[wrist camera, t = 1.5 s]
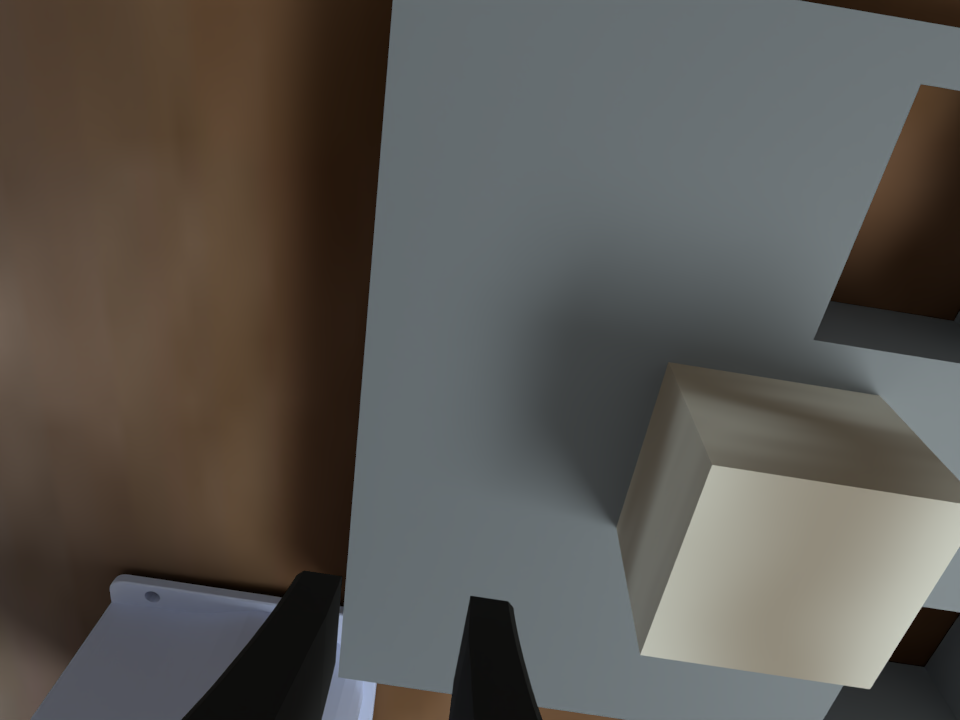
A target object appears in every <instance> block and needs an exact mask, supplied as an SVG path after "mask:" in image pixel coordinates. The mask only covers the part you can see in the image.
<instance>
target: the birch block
mask: <svg viewBox="0 0 960 720" xmlns="http://www.w3.org/2000/svg"><path fill="white" fill-rule="evenodd" d="M616 529H617V534H618V540H619V545H620V550H621V556H622V561H623V566H624V572H625V577H626V582H627V588H628V593H629V598H630V604H631V609H632V615H633V620H634V625H635V631H636V636H637V641H638V647H639V652H640V655H643V656H650V657H656V658H663V659H670V660H677V661H683V662H690V663H697V664H703V665H710V666H717V667H724V668H730V669H737V670H744V671H750V672H757V673H764V674H771V675H777V676H784V677H791V678H797V679H804V680H811V681H818V682H824V683H831V684H838V685H844V686H851V687H858V688H865V689H871V687H872V685H873V684H874V682H875V681H876V679H877V677H878V676H879V674H880V673H881V671H882V670H883V668H884V666H885V665H886V663H887V662H888V660H889V658H890V657H891V655H892V654H893V652H894V650H895V649H896V647H897V646H898V644H899V642H900V641H901V639H902V638H903V636H904V634H905V633H906V631H907V630H908V628H909V627H910V625H911V623H912V622H913V620H914V619H915V617H916V615H917V614H918V612H919V611H920V609H921V607H922V606H923V604H924V603H925V601H926V599H927V598H928V596H929V595H930V593H931V592H932V590H933V588H934V587H935V585H936V584H937V582H938V580H939V579H940V577H941V576H942V574H943V572H944V571H945V569H946V568H947V566H948V564H949V563H950V561H951V560H952V558H953V557H954V555H955V553H956V552H957V550H958V549H959V547H960V481H959V480H958V479H957V478H956V476H955V475H954V474H953V473H952V472H951V471H950V470H949V469H948V468H947V467H946V466H945V465H944V464H943V463H942V462H941V460H940V459H939V458H938V457H937V456H936V455H935V454H934V453H933V452H932V451H931V450H930V449H929V448H928V447H927V446H926V444H925V443H924V442H923V441H922V440H921V439H920V438H919V437H918V436H917V435H916V434H915V433H914V432H913V431H912V430H911V428H910V427H909V426H908V425H907V424H906V423H905V422H904V421H903V420H902V419H901V418H900V417H899V416H898V415H897V414H896V412H895V411H894V410H893V409H892V408H891V407H890V406H889V405H888V404H887V403H886V402H885V401H884V400H883V399H882V398H881V396H879V395H872V394H866V393H860V392H853V391H847V390H841V389H835V388H828V387H822V386H816V385H809V384H803V383H797V382H791V381H784V380H778V379H772V378H765V377H759V376H753V375H747V374H740V373H734V372H728V371H721V370H715V369H709V368H702V367H696V366H690V365H684V364H677V363H671V362H668V365H667V368H666V371H665V375H664V378H663V381H662V384H661V387H660V391H659V394H658V397H657V400H656V403H655V406H654V410H653V413H652V416H651V419H650V422H649V425H648V429H647V432H646V435H645V438H644V441H643V444H642V448H641V451H640V454H639V457H638V460H637V463H636V467H635V470H634V473H633V476H632V479H631V483H630V486H629V489H628V492H627V495H626V498H625V502H624V505H623V508H622V511H621V514H620V517H619V521H618V524H617V527H616Z"/></svg>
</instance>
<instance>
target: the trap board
mask: <svg viewBox="0 0 960 720" xmlns="http://www.w3.org/2000/svg"><path fill="white" fill-rule="evenodd" d="M921 84H923V85H929V86H935V87H941V88H947V89H953V90H959V91H960V28H958V27H952V26H946V25H940V24H934V23H928V22H923V21H917V20H911V19H905V18H899V17H894V16H888V15H882V14H876V13H870V12H865V11H859V10H853V9H847V8H841V7H835V6H830V5H824V4H818V3H812V2H806V1H801V0H393V4H392V16H391V29H390V41H389V54H388V66H387V78H386V91H385V103H384V115H383V128H382V140H381V153H380V165H379V177H378V190H377V202H376V214H375V227H374V239H373V252H372V264H371V276H370V289H369V301H368V313H367V326H366V338H365V351H364V363H363V375H362V388H361V400H360V412H359V425H358V437H357V450H356V462H355V474H354V487H353V499H352V511H351V524H350V536H349V549H348V561H347V573H346V586H345V598H344V610H343V623H342V635H341V648H340V660H339V672H338V677H339V678H346V679H352V680H359V681H366V682H373V683H380V684H387V685H393V686H400V687H407V688H414V689H421V690H427V691H434V692H441V693H448V694H452V690H453V681H454V676H455V671H456V666H457V661H458V656H459V651H460V646H461V641H462V636H463V631H464V626H465V621H466V616H467V611H468V606H469V600H470V596H476V597H483V598H490V599H496V600H503V601H508V602H509V603H510V604H511V605H512V606H513V608H514V615H515V621H516V626H517V631H518V636H519V641H520V645H521V649H522V653H523V657H524V661H525V665H526V668H527V672H528V676H529V679H530V683H531V686H532V690H533V693H534V696H535V699H536V703H537V706H538V707H543V708H550V709H557V710H564V711H571V712H577V713H584V714H591V715H598V716H605V717H612V718H618V719H625V720H960V615H959V616H958V618H957V619H956V621H955V622H954V624H953V625H952V627H951V628H950V630H949V631H948V633H947V634H946V636H945V637H944V639H943V640H942V642H941V643H940V645H939V646H938V648H937V649H936V651H935V652H934V654H933V655H932V657H931V658H930V660H929V661H928V663H927V664H926V666H925V667H921V666H914V665H907V664H901V663H894V662H887V663H886V665H885V666H884V668H883V670H882V671H881V673H880V674H879V676H878V677H877V679H876V681H875V682H874V684H873V685H872V687H871V689H865V688H858V687H851V686H844V685H838V684H831V683H824V682H818V681H811V680H804V679H797V678H791V677H784V676H777V675H771V674H764V673H757V672H750V671H744V670H737V669H730V668H724V667H717V666H710V665H703V664H697V663H690V662H683V661H677V660H670V659H663V658H656V657H650V656H643V655H640V652H639V647H638V641H637V636H636V631H635V625H634V620H633V615H632V609H631V604H630V598H629V593H628V588H627V582H626V577H625V572H624V566H623V561H622V556H621V550H620V545H619V540H618V534H617V529H616V527H617V524H618V521H619V517H620V514H621V511H622V508H623V505H624V502H625V498H626V495H627V492H628V489H629V486H630V483H631V479H632V476H633V473H634V470H635V467H636V463H637V460H638V457H639V454H640V451H641V448H642V444H643V441H644V438H645V435H646V432H647V429H648V425H649V422H650V419H651V416H652V413H653V410H654V406H655V403H656V400H657V397H658V394H659V391H660V387H661V384H662V381H663V378H664V375H665V371H666V368H667V365H668V362H671V363H677V364H684V365H690V366H696V367H702V368H709V369H715V370H721V371H728V372H734V373H740V374H747V375H753V376H759V377H765V378H772V379H778V380H784V381H791V382H797V383H803V384H809V385H816V386H822V387H828V388H835V389H841V390H847V391H853V392H860V393H866V394H872V395H879V396H881V398H882V399H883V400H884V401H885V402H886V403H887V404H888V405H889V406H890V407H891V408H892V409H893V410H894V411H895V412H896V414H897V415H898V416H899V417H900V418H901V419H902V420H903V421H904V422H905V423H906V424H907V425H908V426H909V427H910V428H911V430H912V431H913V432H914V433H915V434H916V435H917V436H918V437H919V438H920V439H921V440H922V441H923V442H924V443H925V444H926V446H927V447H928V448H929V449H930V450H931V451H932V452H933V453H934V454H935V455H936V456H937V457H938V458H939V459H940V460H941V462H942V463H943V464H944V465H945V466H946V467H947V468H948V469H949V470H950V471H951V472H952V473H953V474H954V475H955V476H956V478H957V479H958V480H959V481H960V311H959V313H958V315H957V316H956V318H955V320H954V321H951V320H945V319H939V318H933V317H926V316H920V315H914V314H908V313H902V312H896V311H889V310H883V309H877V308H871V307H865V306H858V305H852V304H846V303H840V302H834V301H830V299H831V297H832V294H833V292H834V290H835V287H836V285H837V282H838V280H839V278H840V275H841V273H842V271H843V268H844V266H845V263H846V261H847V259H848V256H849V254H850V251H851V249H852V247H853V244H854V242H855V240H856V237H857V235H858V232H859V230H860V228H861V225H862V223H863V220H864V218H865V216H866V213H867V211H868V209H869V206H870V204H871V201H872V199H873V197H874V194H875V192H876V190H877V187H878V185H879V182H880V180H881V178H882V175H883V173H884V170H885V168H886V166H887V163H888V161H889V159H890V156H891V154H892V151H893V149H894V147H895V144H896V142H897V139H898V137H899V135H900V132H901V130H902V128H903V125H904V123H905V120H906V118H907V116H908V113H909V111H910V108H911V106H912V104H913V101H914V99H915V97H916V94H917V92H918V89H919V87H920V85H921ZM922 607H928V608H934V609H941V610H947V611H954V612H960V547H959V549H958V550H957V552H956V553H955V555H954V557H953V558H952V560H951V561H950V563H949V564H948V566H947V568H946V569H945V571H944V572H943V574H942V576H941V577H940V579H939V580H938V582H937V584H936V585H935V587H934V588H933V590H932V592H931V593H930V595H929V596H928V598H927V599H926V601H925V603H924V604H923V606H922Z"/></svg>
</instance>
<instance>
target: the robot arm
mask: <svg viewBox="0 0 960 720" xmlns="http://www.w3.org/2000/svg"><path fill="white" fill-rule="evenodd" d="M341 585H342V576H336V575H330V574H323V573H316V572H310V571H303V572H301V573H300V574H298V575H297V576H296V577H295V579H294V581H293V582H292V584H291V585H290V587H289V588H288V590H287V591H286V593H285V594H284V596H283V597H276V596H269V595H263V594H256V593H249V592H242V591H236V590H229V589H222V588H216V587H209V586H202V585H195V584H189V583H182V582H175V581H169V580H162V579H155V578H149V577H142V576H135V575H128V574H122V575H119V576H117V577H116V578H115V579H114V581H113V582H112V584H111V585H110V596H111V603H110V605H109V606H108V608H107V609H106V611H105V612H104V614H103V615H102V616H101V618H100V619H99V621H98V622H97V624H96V625H95V627H94V628H93V630H92V631H91V632H90V634H89V635H88V637H87V638H86V640H85V641H84V643H83V644H82V645H81V647H80V648H79V650H78V651H77V653H76V654H75V656H74V657H73V658H72V660H71V661H70V663H69V664H68V666H67V667H66V669H65V670H64V672H63V673H62V674H61V676H60V677H59V679H58V680H57V682H56V683H55V685H54V686H53V687H52V689H51V690H50V692H49V693H48V695H47V696H46V698H45V699H44V700H43V702H42V703H41V705H40V706H39V708H38V709H37V711H36V712H35V713H34V715H33V716H32V718H31V719H30V720H372V719H373V710H374V702H375V694H376V685H377V683H373V682H366V681H359V680H352V679H346V678H339V677H338V672H339V660H340V648H341V635H342V623H343V610H344V607H343V606H340V598H341ZM155 592H156V593H155ZM449 720H542V718H541V715H540V712H539V709H538V706H537V703H536V699H535V696H534V693H533V690H532V686H531V683H530V679H529V676H528V672H527V668H526V665H525V661H524V657H523V653H522V649H521V645H520V641H519V636H518V631H517V626H516V621H515V615H514V608H513V606H512V605H511V604H510V603H509V602H508V601H503V600H496V599H490V598H483V597H476V596H470V600H469V606H468V611H467V616H466V621H465V626H464V631H463V636H462V641H461V646H460V651H459V656H458V661H457V666H456V671H455V676H454V681H453V690H452V698H451V707H450V715H449Z"/></svg>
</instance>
